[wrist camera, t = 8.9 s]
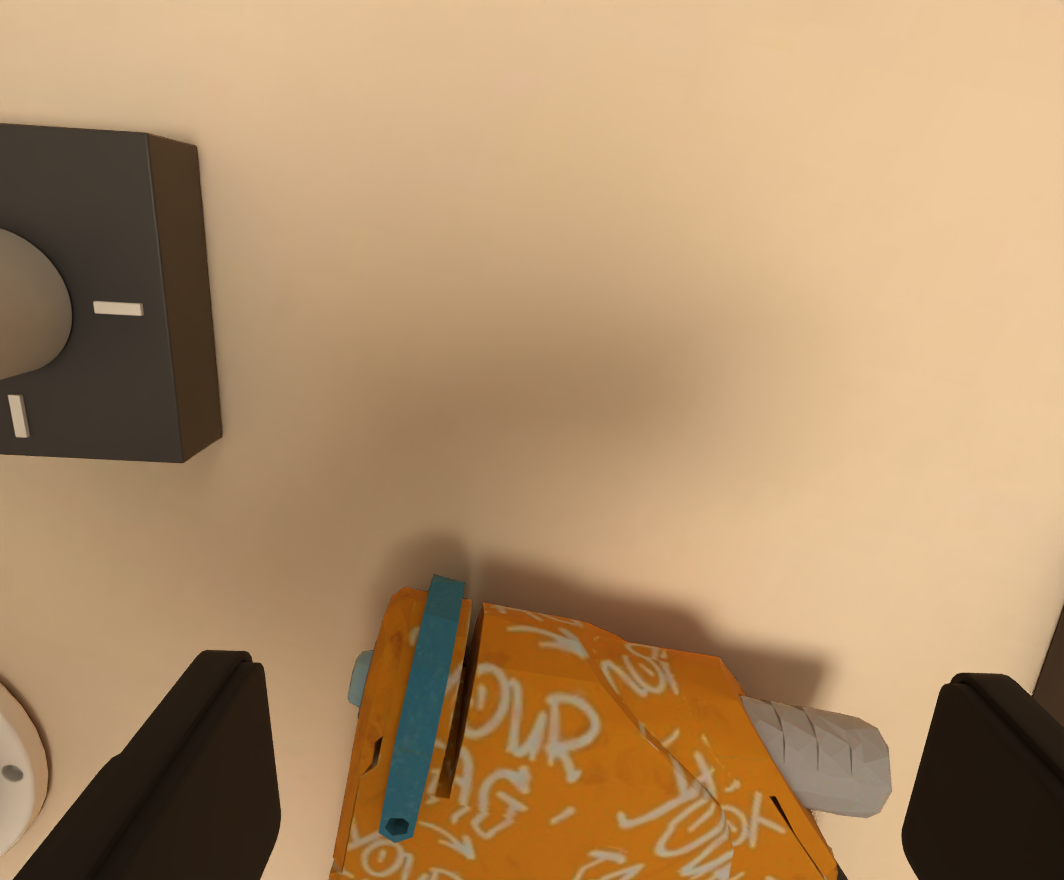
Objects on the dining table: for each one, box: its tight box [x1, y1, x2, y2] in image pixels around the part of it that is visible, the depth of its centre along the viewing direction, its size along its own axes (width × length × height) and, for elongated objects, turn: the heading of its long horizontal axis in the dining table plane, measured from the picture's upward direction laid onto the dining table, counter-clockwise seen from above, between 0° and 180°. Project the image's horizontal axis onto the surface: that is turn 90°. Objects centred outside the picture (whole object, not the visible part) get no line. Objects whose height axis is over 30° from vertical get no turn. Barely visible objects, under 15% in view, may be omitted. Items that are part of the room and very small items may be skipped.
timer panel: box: [0, 123, 222, 463], centre depth 21 cm, size 10×10×3 cm
